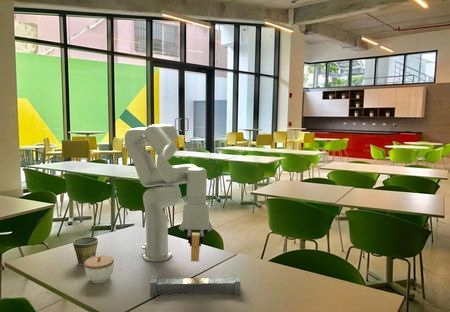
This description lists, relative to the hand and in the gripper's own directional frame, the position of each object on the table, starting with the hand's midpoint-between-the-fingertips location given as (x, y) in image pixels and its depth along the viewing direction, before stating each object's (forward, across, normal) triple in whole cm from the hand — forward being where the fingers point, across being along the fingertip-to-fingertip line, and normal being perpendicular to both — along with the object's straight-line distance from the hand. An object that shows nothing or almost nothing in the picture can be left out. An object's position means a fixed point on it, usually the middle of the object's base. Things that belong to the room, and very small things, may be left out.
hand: (195, 244), depth 143 cm
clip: (+5, 0, 0) cm, 5 cm away
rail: (+13, +1, -12) cm, 18 cm away
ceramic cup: (+15, -48, +16) cm, 53 cm away
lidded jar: (+14, -37, -1) cm, 40 cm away
